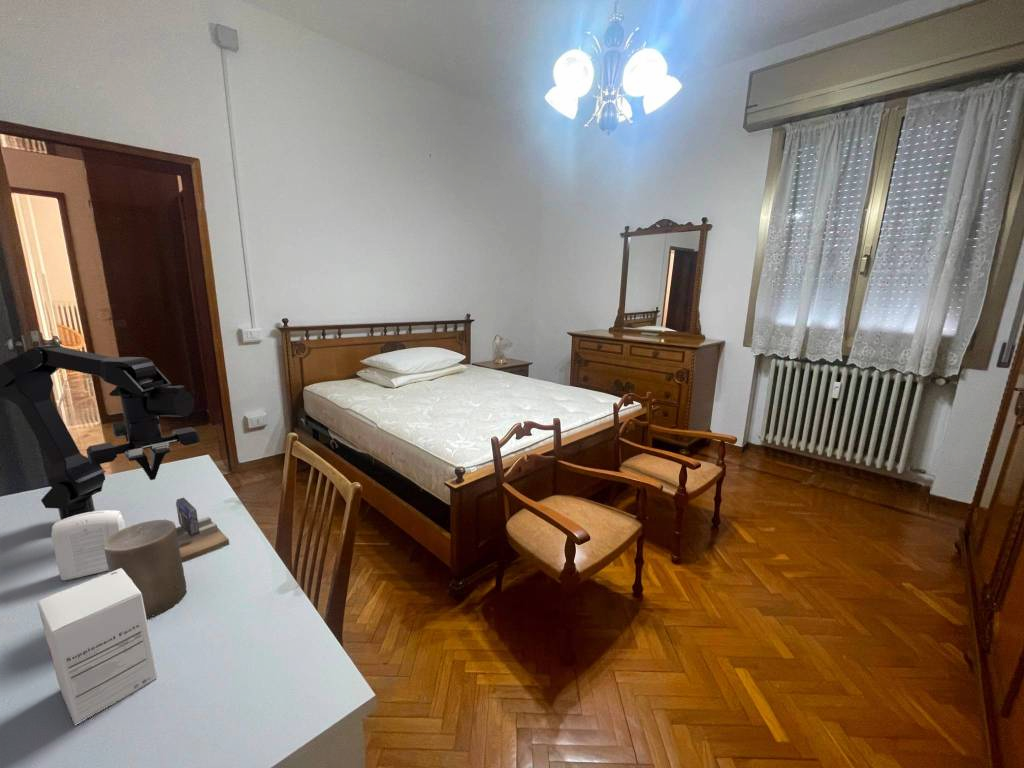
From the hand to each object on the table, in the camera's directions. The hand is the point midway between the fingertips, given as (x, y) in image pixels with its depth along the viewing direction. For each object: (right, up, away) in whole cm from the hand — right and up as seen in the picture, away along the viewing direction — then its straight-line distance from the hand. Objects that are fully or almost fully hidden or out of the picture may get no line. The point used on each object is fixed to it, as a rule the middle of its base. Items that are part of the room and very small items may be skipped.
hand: (152, 479), depth 97 cm
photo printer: (0, -15, -13) cm, 20 cm away
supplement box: (+25, -22, -36) cm, 49 cm away
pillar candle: (+18, -18, -20) cm, 32 cm away
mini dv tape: (+11, -11, -3) cm, 15 cm away
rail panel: (+11, -14, -4) cm, 18 cm away
